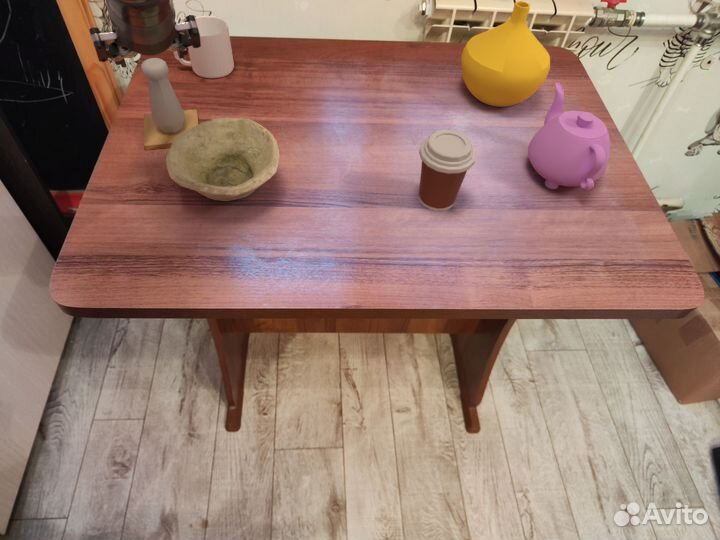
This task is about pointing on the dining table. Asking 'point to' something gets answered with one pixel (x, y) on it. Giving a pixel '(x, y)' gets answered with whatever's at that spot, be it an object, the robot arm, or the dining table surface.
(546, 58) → the vase
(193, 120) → the wooden square board
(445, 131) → the coffee cup
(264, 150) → the bowl
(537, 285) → the dining table surface
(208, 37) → the mug
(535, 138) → the teapot
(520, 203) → the dining table surface
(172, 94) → the salt shaker
